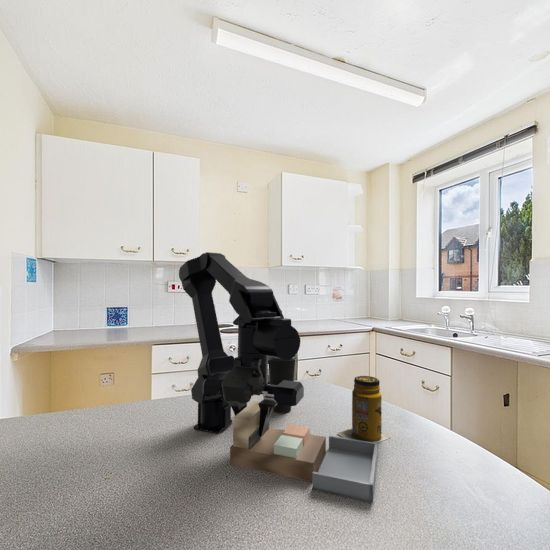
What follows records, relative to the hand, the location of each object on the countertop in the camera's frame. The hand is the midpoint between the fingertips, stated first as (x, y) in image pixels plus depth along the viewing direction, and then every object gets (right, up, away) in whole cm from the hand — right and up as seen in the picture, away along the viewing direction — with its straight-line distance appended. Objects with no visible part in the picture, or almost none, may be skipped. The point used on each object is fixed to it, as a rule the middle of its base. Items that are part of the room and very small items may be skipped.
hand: (252, 434), depth 63 cm
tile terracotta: (+8, -1, 0) cm, 8 cm away
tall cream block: (0, -1, 0) cm, 1 cm away
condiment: (+23, -4, +7) cm, 25 cm away
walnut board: (+5, -4, -2) cm, 7 cm away
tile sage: (+7, 0, -5) cm, 8 cm away
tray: (+17, -3, -6) cm, 18 cm away
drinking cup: (+6, -5, +22) cm, 23 cm away
